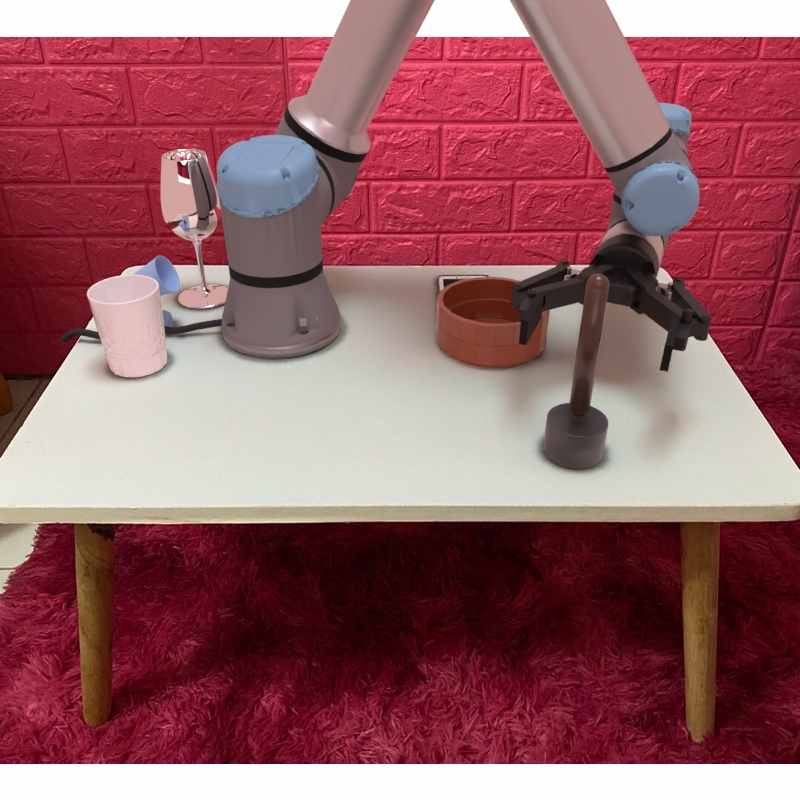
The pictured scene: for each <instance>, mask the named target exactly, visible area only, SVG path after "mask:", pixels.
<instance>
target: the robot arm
mask: <svg viewBox="0 0 800 800" xmlns="http://www.w3.org/2000/svg"><path fill="white" fill-rule="evenodd" d="M435 1H436V0H349V2H348V4H347V6H346V9H345V11H344V13H343V15H342V17H341V19H340V22H339V24H338V26H337V28H336V30H335V31H334V34H333V37H332V39H331V41H330V43H329V45H328V47H327V50H326V51H325V54H324V56H323V58H322V61H321V63H320V64H319V67H318V69H317V71H316V73H315V74H314V75H315V76H314V77H313V80H312V82H311V84H310V86H309V89H308V91H307V93H306V94H304V95H300V96H297V97H294V98H291V99H290V100H289V102H288V105H287V107H286V108H285V111H284V113H283V115H282V118H281V120H280V122H279V124H278V126H277V129H276V131H275V134H268V135H257V136H254V137H250V138H249V139H248V140H240V141H238V142H236V143H234V144H231V145H230V146H229V147H227V148H226V149H225V150H224V151H223V152H222V153H221V155H219V157H218V159H217V163H216V183H217V185H216V188H217V194H218V198H219V202H220V209H221V216H222V219H221V222H222V229H223V237H224V245H225V251H226V259H227V267H228V273H229V282H228V286H227V288H228V291H227V296H226V301H225V303H224V305H223V311H222V316H221V318H218V319H212V320H206V321H199V322H193V323H190V324H185V325H180V326H174V327H167V326H165V333H166V334H165V335H181V334H186V333H191V332H194V331H195V332H196V331H200V330H205V329H212V328H217V327H221V330H222V331H221V332H222V337H223V340H224V342H225V343H226V345H228V346H229V347H230V348H232V349H233V350H235V351H237V352H239V353H241V354H244V355H246V356H247V355H248V356H253V357H257V358H258V357H259V358H264V359H265V358H266V359H267V358H268V359H280V358H282V359H283V358H293V357H297V356H303V355H306V354H310V353H313V352H316V351H318V350H320V349H322V348H325V347H326V346H328V345H329V344H331V343H333V341H334V340H335V339H337V337H338V336H339V334H340V332H341V329H342V326H341V325H342V324H341V323H342V321H341V313H340V309H339V306H338V304H337V301H336V298H335V297H334V295H333V292H332V289H331V287H330V285H329V282H328V280H327V277H326V275H325V271H324V261H323V259H324V258H323V242H322V226H323V224H324V223H325V222H326V221H327V219H328V218H329V217H330V216H331V215H332V213H334V211H335V210H336V209H337V207H338V206H339V205H340V204H342V203H343V201H345V200H346V199H347V197H348V196H349V195H350V194H351V192H352V191H353V189H354V187H355V186H356V182H357V178H358V176H359V170H360V168H361V166H362V165H363V162H364V161H365V159H366V156H367V155H368V154H369V151H370V149H371V146H372V143H371V140H370V136H369V134H368V128H369V126H370V125H371V122H372V120H373V118H374V117H375V114H376V113H377V110H378V109H379V107H380V105H381V103H382V101H383V100H384V97H385V96H386V94H387V92H388V91H389V88H390V86H391V84H392V82H393V80H394V78H395V77H396V75H397V73H398V71H399V69H400V67H401V65H402V63H403V61H404V59H405V57H406V55H407V54H408V52H409V50H410V48H411V46H412V45H413V42H414V41H415V39H416V37H417V35H418V33H419V31H420V29H421V28H422V25H423V23H424V21H425V20H426V18H427V16H428V14H429V12H430V10H431V8H432V6H433V4H434V3H435ZM509 2H510V3H511V4H512V7H513V9H514V10H515V12H516V14H517V16H518V17H519V19H520V21H521V23H522V25H523V26H524V28H525V30H526V32H527V33H528V35H529V37H530V39H531V41H532V43H533V44H534V46H535V47H536V49H537V51H538V53H539V55H540V57H541V58H542V60H543V62H544V64H545V65H546V68H547V69H548V70H549V72H550V74H551V77H552V78H553V79H554V81H555V84H556V85H557V86H558V88H559V90H560V92H561V94H562V95H563V97H564V99H565V101H566V102H567V105H568V106H569V107H570V110H571V111H572V113H573V115H574V116H575V118H576V120H577V122H578V124H579V125H580V127H581V129H582V131H583V133H584V135H585V136H586V138H587V140H588V141H589V143H590V145H591V147H592V148H593V150H594V152H595V154H596V156H597V158H598V159H599V161H600V162H601V164H602V166H603V169H604V170H605V172H606V175H607V176H608V179H609V180H610V182H611V184H612V185H613V187H614V190H613V195H612V200H611V207H610V214H609V220H608V224H607V229H606V231H605V233H604V234H603V237H602V239H601V241H600V243H599V245H598V247H597V248H596V251H595V253H594V255H593V257H592V259H591V260H590V263H589V265H588V266H587V267H584V268H583V269H581V270H579V269H574V268H572V267H571V262H570V261H569V260H561V261H559V262H558V263H557V264H556V265H555V266H554V267H552V268H550V269H546V270H543V271H542V272H539V273H537V274H535V275H532V276H530V277H528V278H525V279H523V280H519V281H520V282H518V283H515V284H513V287H512V298H511V307H512V308H516V309H518V308H519V314H518V321H519V322H521V325H520V336H519V344H522V345H527V343H528V341H529V339H530V337H531V336H532V334H533V332H534V330H535V328H536V327H537V325H538V323H539V321H540V319H541V317H542V312H543V311H547V310H550V311H551V310H556V309H558V308H563V307H566V306H570V305H574V304H575V305H576V304H580V305H582V306H583V304H584V297H585V290H586V283H587V280H588V279H589V277H590V276H592V275H594V274H597V273H599V274H603V275H605V276H606V277H607V278H608V280H609V291H608V297H607V304H608V303H609V304H612V305H619V306H624V307H627V308H630V309H631V310H632V311H634V312H635V313H636V314H637V315H645V316H646V317H648V318H649V319H650V320H652V321H653V322H654V323H656V324H657V325H658V326H659V327H661V328H662V329H663V330H665V331H666V332H667V335H666V339H665V343H664V347H663V352H662V355H661V356H662V357H661V362H660V366H659V371H661V372H666V373H668V372H669V368H670V365H671V364H670V363H671V359H672V355H673V351H678V352H685V351H686V350H687V345H688V342H689V338H692V337H693V338H694V340H697V341H700V342H706V341H707V340H708V337H709V333H710V328H711V325H712V320H713V317H712V315H711V314H710V313H709V312H708V310H706V309H705V307H704V306H703V305H702V304H701V303H700V302H699V301H698V299H696V297H695V296H694V295H693V294H692V292H690V291H689V290H688V289H687V288H686V282H685V279H683V278H681V277H674V278H673V279H672V282H671V281H670V282H667V283H664V282H663V283H662V282H659V280H658V279H657V278H658V275H659V271H660V267H661V264H662V261H663V258H664V253H665V250H666V248H667V245H668V243H669V242H670V240H671V235H672V234H674V233H677V232H678V231H680V230H682V229H683V228H684V227H686V226H687V225H688V224H689V223H690V222H691V220H692V219H693V218H694V216H695V215H696V213H697V211H698V208H699V204H700V185H701V184H700V181H699V180H698V179H699V178H698V177H697V175H696V174H695V172H694V170H693V168H692V165H691V161H690V157H689V154H688V152H687V148H688V143H689V139H690V138H691V135H692V133H691V126H692V125H691V124H692V113H691V111H690V110H689V109H688V108H687V107H684V106H683V105H679V104H674V103H670V102H669V103H668V102H658V99H657V98H656V96H655V94H654V92H653V90H652V88H651V87H650V84H649V82H648V80H647V78H646V76H645V74H644V73H643V71H642V69H641V66H640V64H639V63H638V61H637V59H636V56H635V55H634V54H633V51H632V49H631V47H630V45H629V43H628V41H627V40H626V37H625V36H624V35H625V34H624V33H623V31H622V29H621V28H620V25H619V24H618V21H617V20H616V18H615V15H614V13H613V12H612V10H611V7H610V6H609V4H608V2H607V0H509ZM78 336H79V337H80V336H81V337H86V338H90V339H94V340H100V341H101V339H100V336H99V334H98V331H97V330H93V329H92V330H91V329H89V328H88V329H87V328H74V329H70V330H69V331H67V332H65V333H64V334H63V335H62V336H61V338H60V340H59V342H61V343H66V342H69V341H70V340H72V339H73V338H75V337H78Z"/></svg>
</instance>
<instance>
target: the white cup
mask: <svg viewBox="0 0 800 800" xmlns="http://www.w3.org/2000/svg"><path fill="white" fill-rule="evenodd" d="M86 296H87V300H88V303H89V307H90V310H91V314H92V317H93V320H94V324H95V327H96V332H98V334H99V336H100V339H101V340H100V343H101V346H102V348H103V351H104V352H105V356H106V359H107V363H108V367H109V369H110V370H111V372H112V373H113V374H114V375H116V376H118V377H119V376H120V377H123V378H141V377H147V376H150V375H153V374H155V373H156V372H157V373H158V372H159V371H160V370H162V369H163V368H164V367H165V366H166V365H167V364H168V351H167V345H166V341H167V338H166V334H165V327H164V319H163V312H162V310H163V306H162V299H161V296H160V290H159V284H158V282H157V281H156V280H155V279H153V278H151V277H148V276H143V275H133V274H122V275H116V276H112V277H108V278H105V279H102V280H100V281H97V282H96V283H94V284H92V285H91V286H90V287H89V288H88V290H87V291H86Z"/></svg>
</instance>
